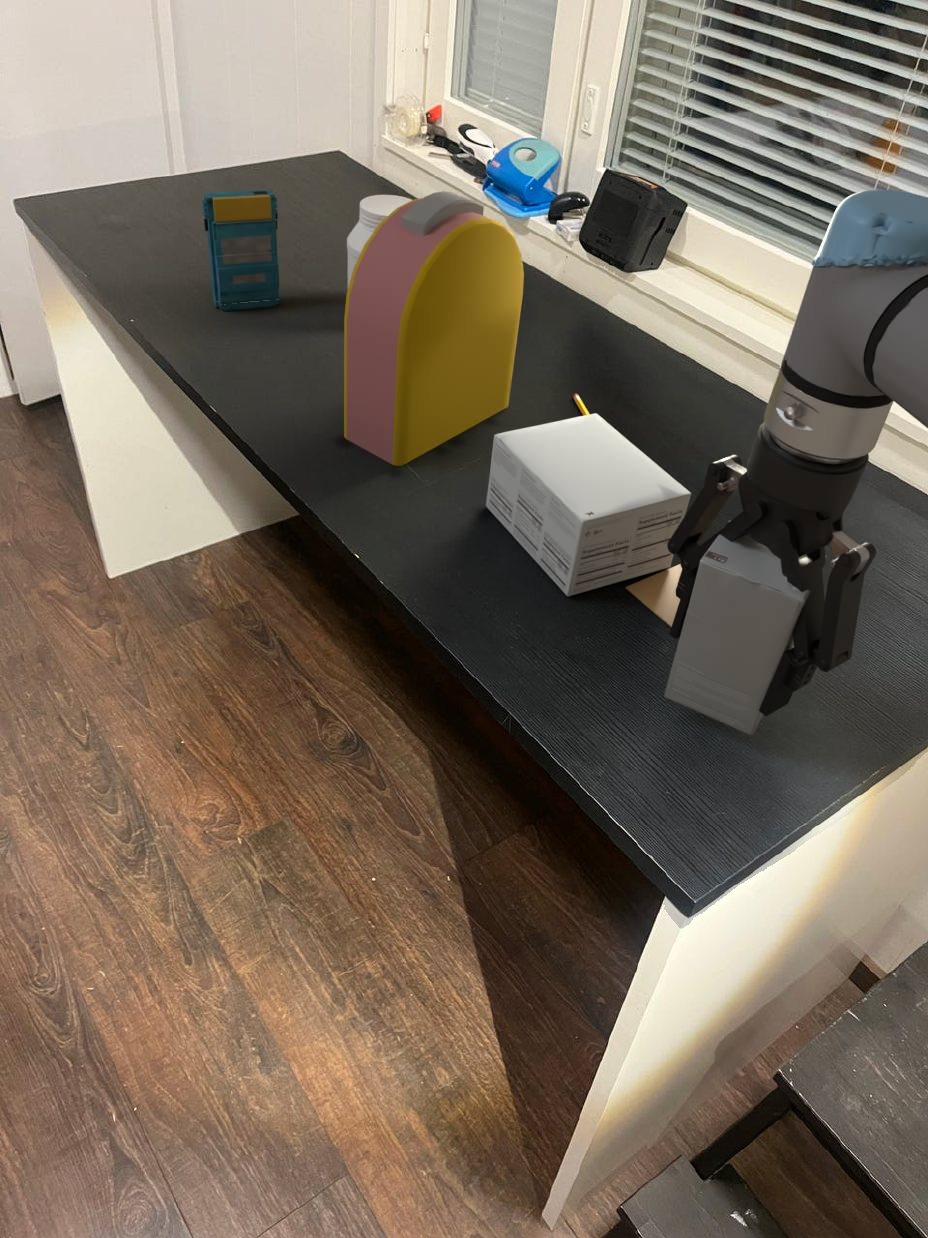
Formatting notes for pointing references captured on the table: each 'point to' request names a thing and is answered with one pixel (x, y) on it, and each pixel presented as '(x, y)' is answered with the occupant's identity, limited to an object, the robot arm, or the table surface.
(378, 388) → the lunch box
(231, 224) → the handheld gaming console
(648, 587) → the cork mat
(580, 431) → the supplement box
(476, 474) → the table surface
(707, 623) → the cosmetic box
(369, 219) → the jar
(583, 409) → the pencil
